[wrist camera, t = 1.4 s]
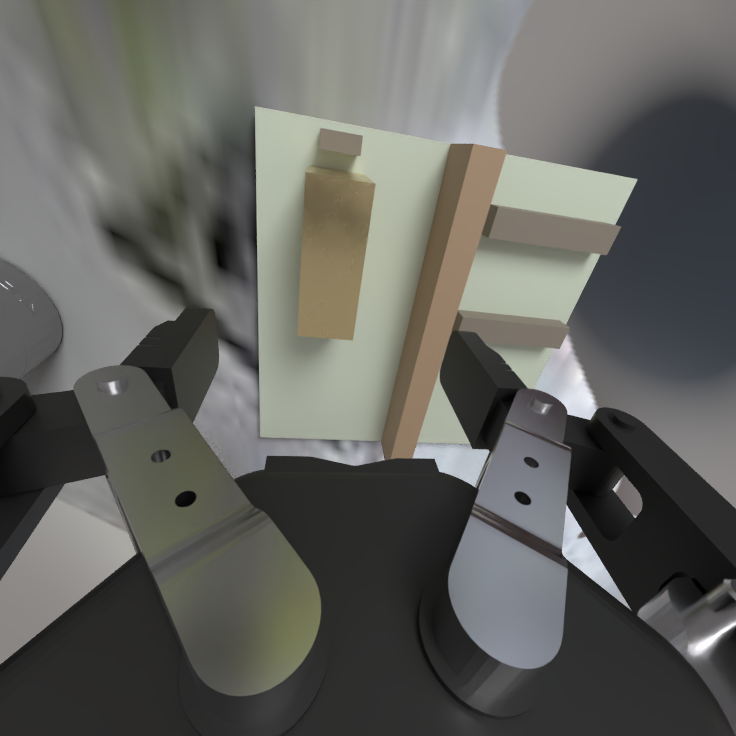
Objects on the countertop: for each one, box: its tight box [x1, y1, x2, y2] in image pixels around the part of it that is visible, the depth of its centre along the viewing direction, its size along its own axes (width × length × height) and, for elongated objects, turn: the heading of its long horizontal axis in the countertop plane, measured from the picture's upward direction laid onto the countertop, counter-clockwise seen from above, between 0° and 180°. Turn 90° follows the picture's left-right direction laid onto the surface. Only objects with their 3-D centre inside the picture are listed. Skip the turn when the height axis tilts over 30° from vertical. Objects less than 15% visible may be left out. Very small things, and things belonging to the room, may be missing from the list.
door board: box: [255, 106, 637, 460], centre depth 28 cm, size 26×26×5 cm
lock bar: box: [297, 165, 376, 341], centre depth 22 cm, size 9×4×6 cm, turn 171°
